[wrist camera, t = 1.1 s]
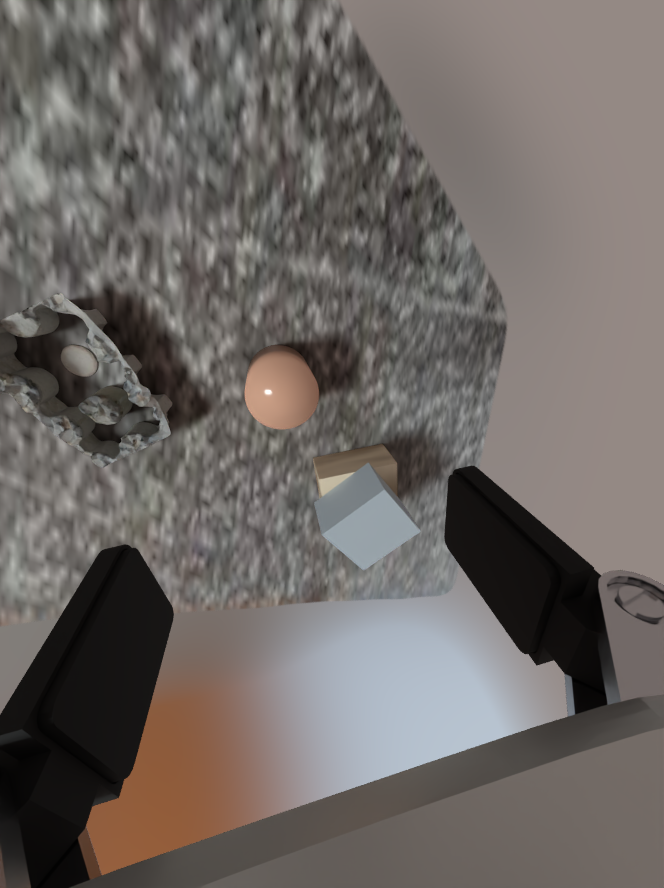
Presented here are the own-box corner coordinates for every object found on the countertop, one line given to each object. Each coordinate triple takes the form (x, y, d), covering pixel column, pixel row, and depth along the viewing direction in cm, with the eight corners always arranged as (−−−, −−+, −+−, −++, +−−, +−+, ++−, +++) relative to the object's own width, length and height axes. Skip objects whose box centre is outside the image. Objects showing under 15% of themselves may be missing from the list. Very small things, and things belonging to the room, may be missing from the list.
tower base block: (312, 456, 30) (319, 479, 26) (381, 442, 31) (397, 463, 27) (321, 511, 33) (328, 538, 30) (383, 497, 34) (397, 522, 30)
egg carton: (-9, 331, 20) (-66, 341, 17) (94, 285, 20) (58, 284, 17) (106, 456, 26) (81, 483, 22) (188, 419, 26) (176, 440, 22)
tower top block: (314, 502, 27) (321, 534, 24) (368, 462, 26) (384, 489, 23) (351, 537, 30) (363, 570, 27) (401, 501, 29) (420, 531, 26)
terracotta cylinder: (240, 350, 24) (235, 365, 19) (304, 340, 24) (313, 352, 20) (256, 409, 26) (254, 435, 22) (313, 399, 27) (323, 421, 22)
